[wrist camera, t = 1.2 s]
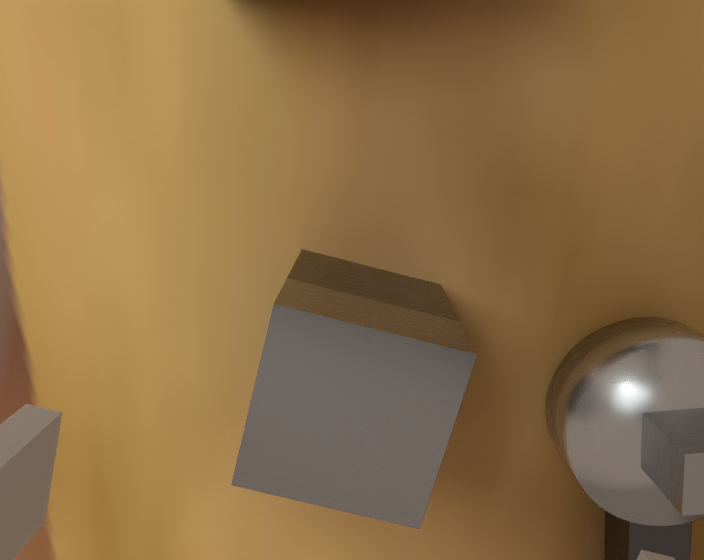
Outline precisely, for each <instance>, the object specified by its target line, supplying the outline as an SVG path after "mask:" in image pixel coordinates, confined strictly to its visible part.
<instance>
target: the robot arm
mask: <svg viewBox="0 0 704 560" xmlns="http://www.w3.org/2000/svg"><path fill="white" fill-rule="evenodd" d="M61 416H62V412H58V411H54V410H50V409H45V408H41V407H37V406H33V405H28V404H26V405H24V406H23V407H22V408H21V409H19V410H18V411H17V412H16V413H14V414H13V415H12V416H10V417H9V418H8V419H6V421H4V422H3V423H1V424H0V560H14V559H15V557H16V556H17V555H18V554H19V553H20V551H21V550H22V549H23V548H24V547H25V545H26V544H27V543H28V542H29V541H30V539H31V538H32V537H33V536H34V534H35V533H36V532H37V531H38V529H39V528H40V527H41V526H42V525H43V524H44V522H45V520H46V514H47V507H48V501H49V494H50V488H51V481H52V474H53V468H54V461H55V455H56V448H57V442H58V435H59V429H60V422H61ZM637 560H675V559H674V557H670V556H666V555H662V554H658V553H653V552H649V551H645V550H641V551H640V554H639V556H638V558H637Z"/></svg>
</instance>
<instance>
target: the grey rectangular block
mask: <svg viewBox="0 0 704 560" xmlns="http://www.w3.org/2000/svg"><path fill="white" fill-rule="evenodd" d="M476 358H477V353H476V351H475V349H474V347H473V345H472V344H471V342H470V340H469V338H468V336H467V334H466V332H465V331H464V329H463V327H462V325H461V323H460V321H459V319H458V318H457V316H456V314H455V312H454V310H453V308H452V307H451V305H450V303H449V301H448V299H447V297H446V295H445V294H444V292H443V290H442V288H441V286H440V285H439V284H435V283H431V282H427V281H423V280H419V279H415V278H412V277H408V276H404V275H400V274H396V273H392V272H388V271H384V270H380V269H376V268H373V267H369V266H365V265H361V264H357V263H353V262H349V261H345V260H341V259H337V258H334V257H330V256H326V255H322V254H318V253H314V252H310V251H306V250H301V252H300V254H299V256H298V258H297V260H296V262H295V264H294V266H293V268H292V270H291V271H290V273H289V275H288V277H287V279H286V281H285V283H284V285H283V287H282V289H281V291H280V293H279V295H278V297H277V299H276V301H275V303H274V306H273V310H272V314H271V318H270V323H269V327H268V331H267V335H266V340H265V344H264V348H263V352H262V357H261V361H260V365H259V369H258V374H257V378H256V382H255V386H254V391H253V395H252V399H251V403H250V408H249V412H248V416H247V420H246V425H245V429H244V433H243V437H242V442H241V446H240V450H239V454H238V459H237V463H236V467H235V471H234V476H233V480H232V484H231V485H234V486H238V487H242V488H246V489H251V490H255V491H259V492H264V493H268V494H272V495H276V496H281V497H285V498H289V499H293V500H298V501H302V502H306V503H311V504H315V505H319V506H323V507H328V508H332V509H336V510H340V511H345V512H349V513H353V514H358V515H362V516H366V517H370V518H375V519H379V520H383V521H387V522H392V523H396V524H400V525H405V526H409V527H413V528H417V529H419V528H420V525H421V522H422V519H423V516H424V513H425V510H426V507H427V504H428V501H429V498H430V495H431V492H432V489H433V486H434V483H435V480H436V477H437V474H438V471H439V468H440V466H441V463H442V460H443V457H444V454H445V451H446V448H447V445H448V442H449V439H450V436H451V433H452V430H453V427H454V424H455V421H456V418H457V415H458V412H459V409H460V406H461V403H462V400H463V397H464V394H465V391H466V388H467V385H468V382H469V379H470V376H471V373H472V370H473V367H474V364H475V361H476Z"/></svg>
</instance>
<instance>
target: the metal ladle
mask: <svg viewBox="0 0 704 560" xmlns="http://www.w3.org/2000/svg"><path fill="white" fill-rule="evenodd" d="M546 419H547V425H548V429H549V432H550V435H551V437H552V440H553V442H554V443H555V445H556V447H557V449H558V450H559V452H560V453H561V455H562V457H563V458H564V460H565V461H566V463H567V464H568V466H569V468H570V469H571V471H572V472H573V474H574V475H575V477H576V479H577V480H578V482H579V483H580V485H581V486H582V488H583V490H584V491H585V492H586V493H587V494H588V496H589V497H590V498H591V499H592V500H593V501H594V502H595V503H596V504H597V505H599V506H600V507H601V508H603V509H604V510H605V560H637V558H638V556H639V554H640V551H641V550H645V551H649V552H653V553H658V554H662V555H666V556H670V557H674V559H675V560H690V548H691V530H692V521H695V520H698V519H701V518H704V336H703V335H701V334H700V333H698V332H696V331H695V330H693V329H691V328H689V327H687V326H685V325H683V324H680V323H678V322H675V321H671V320H666V319H661V318H634V319H628V320H623V321H620V322H616V323H613V324H610V325H608V326H605V327H603V328H601V329H599V330H597V331H596V332H594V333H592V334H590V335H589V336H587V337H586V338H585V339H583V340H582V341H581V342H579V343H578V344H577V345H576V346H575V347H574V348H573V349H572V350H571V351H570V352H569V353H568V354H567V356H566V357H565V358H564V359H563V361H562V362H561V364H560V365H559V367H558V368H557V370H556V372H555V374H554V376H553V378H552V381H551V384H550V386H549V389H548V394H547V399H546Z"/></svg>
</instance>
